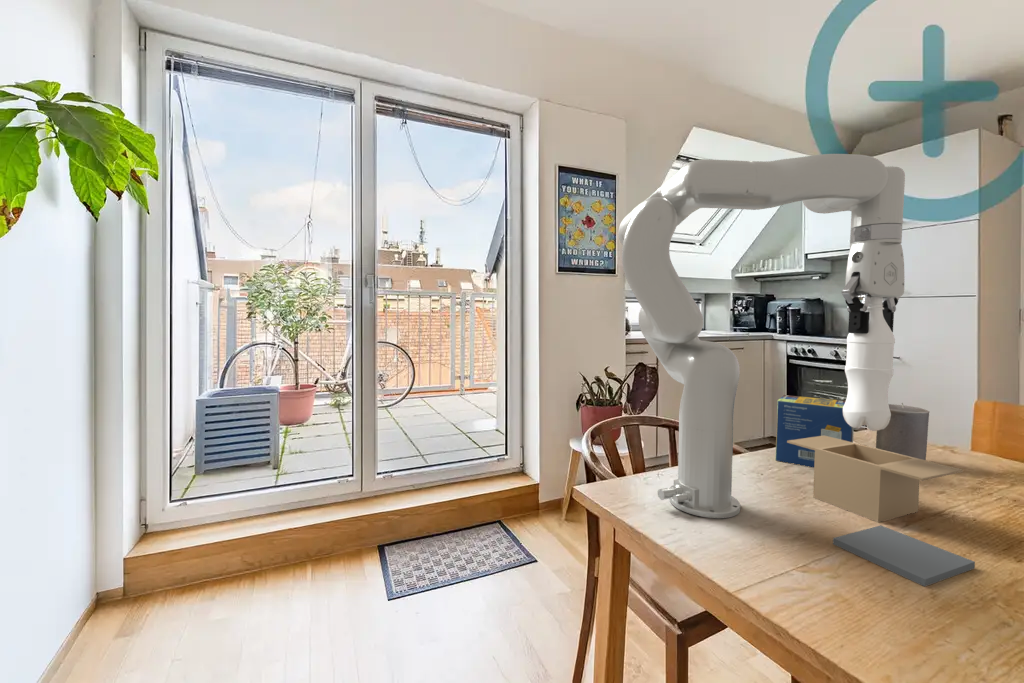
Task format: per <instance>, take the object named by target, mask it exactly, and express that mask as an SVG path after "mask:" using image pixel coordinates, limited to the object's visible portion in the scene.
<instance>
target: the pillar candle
mask: <svg viewBox="0 0 1024 683" xmlns="http://www.w3.org/2000/svg"><path fill="white" fill-rule="evenodd" d="M888 405H889V409H890V412H891V417H890V421H889V423H888V425H887V426H886V427H885V428H884V429H881V430H878V431H876V435H875V436H876V439H875V448H877V449H881V450H885V451H889V452H893V453H898V454H902V455H906V456H910V457H914V458H918V459H922V460H926V461H927V448H928V435H929V434H928V432H929V431H928V430H929V420H930V411H929V410H927V409H925V408H921V407H916V406H911V405H904V403H903V402H902V403H901V404H895V403H894V404H890V403H888Z"/></svg>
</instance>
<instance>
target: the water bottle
mask: <svg viewBox="0 0 1024 683" xmlns="http://www.w3.org/2000/svg"><path fill="white" fill-rule="evenodd" d="M883 302H884V301H883V297H871V299H870V302H869V305H868V308H867V311H866V312H870V314H869V332H868V333H867V334H860V333H849V332H848V334H847V337H846V356H845V357H846V360H845V366H844V373H845V377H846V380H847V395H846V399H845V401H846V402H845V404H844V406H843V416H844V419H845V421H846V422H847V424H849V425H850V426H851V427H853V428H854V429H860V428H862V426H867V428H868V430H869V431H872V432H874V431H875V432H877V431H878V430H881V429H884V428H885V427H886V426H887V425H888V423H889V421H890V417H891V412H890V409H889V405H888V404H889V397H888V394H889V387H890V383H891V381H892V378H893V375H894V367H893V366H894V351H895V350H894V349H895V348H894V347H895V343H896V339H895V335H894V332H892V331H891V329H890V327H889V326H888V324H887V323H886V321H885V319H884V317H883V311H882V309H884V308H883V305H882V303H883Z"/></svg>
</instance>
